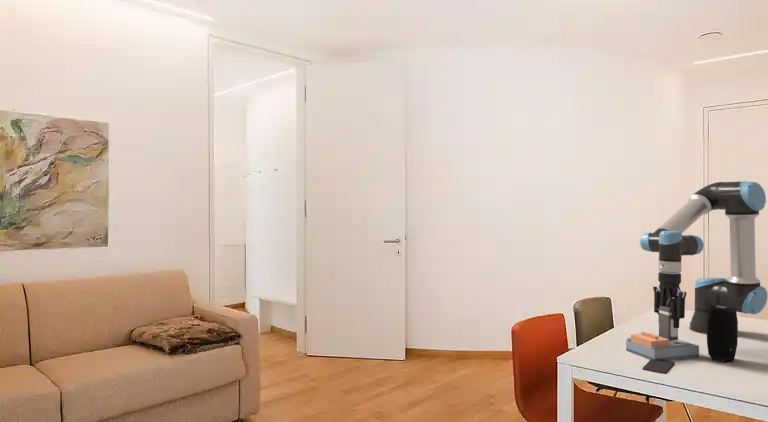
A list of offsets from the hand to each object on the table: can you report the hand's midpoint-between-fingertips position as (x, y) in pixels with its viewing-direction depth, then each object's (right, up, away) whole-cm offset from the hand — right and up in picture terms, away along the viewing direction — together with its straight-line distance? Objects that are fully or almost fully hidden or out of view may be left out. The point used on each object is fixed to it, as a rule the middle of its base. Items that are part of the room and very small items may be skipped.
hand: (668, 334), depth 203 cm
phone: (-12, -8, -16) cm, 21 cm away
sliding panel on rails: (-3, -7, -1) cm, 8 cm away
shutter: (-8, -3, -2) cm, 9 cm away
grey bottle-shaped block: (0, -2, 0) cm, 2 cm away
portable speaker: (+15, -7, -8) cm, 18 cm away
